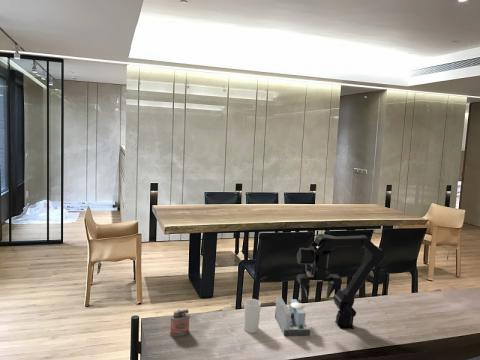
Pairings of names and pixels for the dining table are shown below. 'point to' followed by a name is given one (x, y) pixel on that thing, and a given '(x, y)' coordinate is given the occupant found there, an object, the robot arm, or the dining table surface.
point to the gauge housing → (287, 320)
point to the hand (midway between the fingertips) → (317, 298)
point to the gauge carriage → (297, 313)
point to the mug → (251, 315)
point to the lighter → (180, 323)
